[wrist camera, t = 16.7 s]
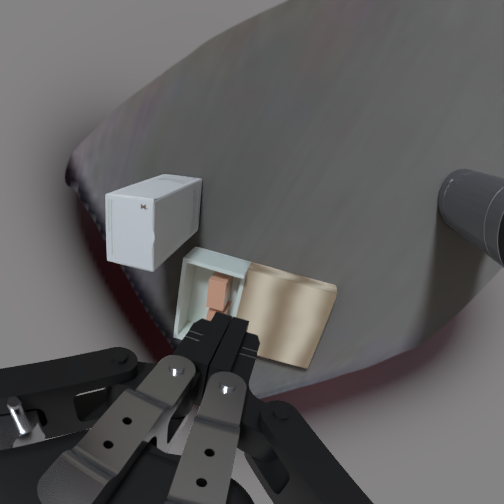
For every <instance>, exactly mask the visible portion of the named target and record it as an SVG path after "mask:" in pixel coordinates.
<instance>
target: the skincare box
mask: <svg viewBox="0 0 504 504" xmlns="http://www.w3.org/2000/svg"><path fill="white" fill-rule="evenodd" d="M201 190H202V179H200V178H193V177H186V176H178V175H169V174H163V175H160V176H157V177H154V178H151V179H148V180H145V181H142V182H139V183H136V184H133V185H130V186H127V187H124V188H122V189H119V190H116V191H113V192H111V193H108V194H106V195H105V200H106V246H107V260H108V261H111V262H115V263H118V264H122V265H126V266H130V267H134V268H138V269H143V270H147V271H151V272H154V271H155V270H156V269H157V268H158V267H159V266H160V265H161V264H162V263H163V262H164V261H165V260H166V259H167V258H168V257H169V256H170V255H172V254H173V253H174V252H175V251H176V250H177V249H178V248H179V247H180V246H181V245H182V244H183V243H185V242H186V241H187V240H188V239H189V238H190V237H191V236H192V235H193V234H194V233H196V232H197V231H198V225H199V213H200V201H201Z"/></svg>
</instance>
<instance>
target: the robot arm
mask: <svg viewBox="0 0 504 504" xmlns="http://www.w3.org/2000/svg"><path fill="white" fill-rule="evenodd" d="M438 205H439V211H440V214H441V217H442V218H443V220H444V222H445V223H446V224H447V225H448V226H449V227H451V228H452V229H453V230H455V231H456V232H458V233H459V234H460V235H461V236H463V237H464V238H466V239H467V240H468V241H470V242H471V243H472V244H474V245H475V246H476V247H478V248H479V249H480V250H482V251H483V252H484V253H485V254H487V255H488V256H489V257H491V258H492V259H493V260H494V261H496V262H497V263H498V264H500V265H501V266H502V267H503V268H504V178H500V177H496V176H493V175H489V174H485V173H481V172H477V171H472V170H467V169H461V170H457V171H455V172H453V173H452V174H450V175H449V176H448V177H447V178H446V179H445V181H444V182H443V184H442V186H441V189H440V192H439V197H438ZM248 325H249V321H247V320H244V319H241V318H237V317H233V318H232V316H230V315H227V314H224V313H220V312H216V313H215V315H214V316H213V318H212V320H211V321H209V320H206V319H203V318H202V319H200V320H198V321H196V322H194V323H193V325H192V326H191V328H190V329H189V331H188V332H187V334H186V335H185V337H184V338H183V340H182V341H181V343H180V344H179V346H178V347H177V349H176V350H175V352H174V353H173V355H171V356H167V357H164V358H163V359H161V361H160V362H159V363H145V362H138V361H137V357H136V355H135V354H134V353H133V352H132V351H131V350H129V349H126V348H122V347H114V348H109V349H105V350H100V351H95V352H90V353H85V354H80V355H75V356H71V357H65V358H60V359H55V360H50V361H44V362H39V363H33V364H27V365H22V366H15V367H9V368H3V369H0V504H254V502H253V501H252V499H251V497H250V495H249V494H248V493H247V492H246V490H245V489H244V488H243V487H242V486H241V485H240V484H239V483H237V482H236V481H235V480H233V479H232V478H231V474H232V469H233V464H234V459H235V454H236V449H237V448H239V449H240V450H242V451H244V452H245V453H244V454H245V458H246V460H247V461H248V463H249V465H250V466H251V468H252V469H253V471H254V473H255V475H256V476H257V478H258V479H259V481H260V483H261V484H262V486H263V487H264V489H265V490H266V492H267V494H268V495H269V497H270V498H271V500H272V501H273V503H274V504H373V503H372V502H371V500H370V499H369V498H368V497H367V496H366V495H365V493H364V492H363V491H362V490H361V489H360V488H359V486H358V485H357V484H356V483H355V482H354V480H353V479H352V478H351V477H350V476H349V475H348V473H347V472H346V471H345V470H344V468H343V467H342V466H341V465H340V464H339V462H338V461H337V460H336V459H335V458H334V456H333V455H332V454H331V453H330V452H329V450H328V449H327V448H326V447H325V445H324V444H323V443H322V441H321V440H320V439H319V438H318V436H317V435H316V434H315V432H313V430H312V429H311V427H310V426H309V425H308V424H307V422H306V421H305V420H304V418H303V417H302V416H301V414H300V413H299V412H298V411H297V409H296V408H295V407H293V406H292V405H291V404H289V403H287V402H284V401H278V400H277V401H270V402H267V403H264V402H263V401H261V400H259V399H258V398H256V397H255V396H254V395H253V394H252V392H251V391H250V389H249V379H250V376H251V373H252V369H253V366H254V363H255V359H256V356H257V353H258V349H259V346H260V341H259V338H258V335H255V334H252V333H248V332H247V329H248ZM104 387H105V389H104V390H100V391H96V392H92V393H87V394H84V395H79V396H76V395H78V394H80V393H84V392H88V391H92V390H96V389H100V388H104ZM194 404H196V405H199V406H200V408H199V411H198V414H197V416H196V417H195V418H194V421H193V423H192V426H191V429H190V432H189V435H188V438H187V441H186V444H185V447H184V450H183V453H182V456H181V455H174V454H168V451H169V449H170V447H171V445H172V443H173V442H174V440H175V439H176V437H177V435H178V434H179V432H180V431H181V429H182V427H183V425H184V424H185V422H186V421H187V419H188V417H189V412H190V411H191V409H192V407H193V405H194ZM90 428H91V429H90ZM86 429H88V430H86ZM74 432H75V433H74ZM70 433H71V434H70ZM66 434H68V435H66ZM61 435H64V436H61ZM57 436H60V437H57ZM52 437H56V438H53V439H49V440H45V439H47V438H52ZM44 440H45V441H44Z"/></svg>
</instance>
